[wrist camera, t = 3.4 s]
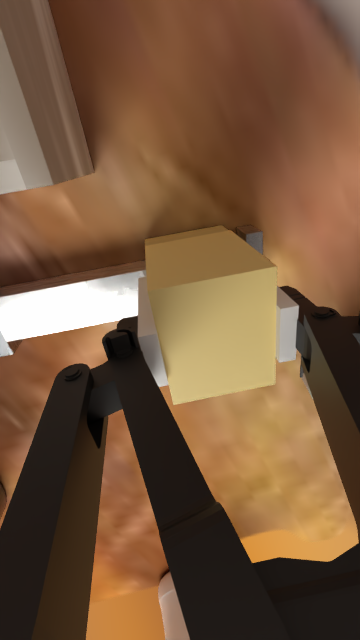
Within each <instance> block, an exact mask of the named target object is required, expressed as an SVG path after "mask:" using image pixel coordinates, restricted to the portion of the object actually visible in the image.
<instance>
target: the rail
mask: <svg viewBox="0 0 360 640" xmlns="http://www.w3.org/2000/svg"><path fill="white" fill-rule="evenodd" d="M236 231H237V236H239V237H240V238H241V239H243V240H244V241H245V242H246V243H248V244H249V245H250V246H252V247H253V248H254V249H255V250H257V251H258V252H259V253H261V254H262V255H263V232H262V231H261V230H259V229H258V228H256V227H254V226H252V225H247V226H242V227H237V228H236ZM146 276H147V275H146V260H142V261H137V262H132V263H126V264H121V265H116V266H110V267H105V268H100V269H94V270H89V271H84V272H78V273H73V274H68V275H62V276H57V277H52V278H46V279H41V280H36V281H30V282H25V283H20V284H14V285H9V286H4V287H0V357H2V356H7V355H12V354H14V353H15V351H16V350H17V348H18V346H19V345H20V343H21V342H22V340H23V339H24V338H29V337H34V336H39V335H45V334H50V333H55V332H60V331H65V330H70V329H75V328H81V327H86V326H91V325H96V324H101V323H106V322H112V321H117V320H121V319H122V318H127V317H132V316H137V315H138V278H141V277H146Z"/></svg>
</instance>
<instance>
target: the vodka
mask: <svg viewBox="0 0 360 640" xmlns="http://www.w3.org/2000/svg"><path fill="white" fill-rule="evenodd" d="M158 592H159V604H160V606H161V610H162V617H163V623H164V630H165V640H190V638H189V635H188V631H187V628H186V624H185V621H184V618H183V614H182V611H181V607H180V604H179V601H178V597H177V594H176V590H175V587H174V584H173V580H172V577H171V573H170V571H169V572H168V573H167V574H166V575H165V576H164V577H163V578H162V579H161V581H160V584H159V588H158Z"/></svg>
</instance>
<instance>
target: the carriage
mask: <svg viewBox="0 0 360 640" xmlns="http://www.w3.org/2000/svg"><path fill="white" fill-rule="evenodd" d="M145 258H146V275H147V291H148V296H149V300H150V305H151V309H152V313H153V318H154V322H155V326H156V330H157V334H158V339H159V343H160V347H161V352H162V356H163V361H164V365H165V369H166V374H167V378H168V383H169V388H170V392H171V396H172V401H173V405H176V404H181V403H186V402H190V401H195V400H200V399H205V398H210V397H215V396H220V395H225V394H230V393H235V392H239V391H244V390H249V389H254V388H259V387H264V386H269V385H274V384H275V370H276V357H275V356H276V305H277V266H276V265H275V264H273V263H272V262H271V261H270V260H268V259H267V258H266V257H264V256H263V255H262V254H261V253H259V252H258V251H257V250H255V249H254V248H253V247H252V246H250V245H249V244H248V243H246V242H245V241H244V240H243V239H241V238H240V237H239V236H237V235H236V234H235V233H234V232H232V231H231V230H228V229H226V228H225V227H224V226H223V225H219V226H214V227H209V228H203V229H198V230H192V231H187V232H182V233H176V234H171V235H165V236H160V237H155V238H149V239H145Z"/></svg>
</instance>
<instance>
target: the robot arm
mask: <svg viewBox="0 0 360 640" xmlns="http://www.w3.org/2000/svg"><path fill="white" fill-rule="evenodd" d="M102 343H103V346H104V349H105V352H106V355H107V358H108V361H107V362H105V363H104V364H102V365H100V366H98V367H95V368H93V369H90V368H89V367H88V366H87V365H86V364H82V363H81V364H74V365H70V366H68V367H66V368H64V369H63V370H62V371H61V372H59V373H58V375H57V376H56V378H55V380H54V383H53V386H52V389H51V391H50V394H49V397H48V400H47V402H46V405H45V408H44V411H43V413H42V416H41V419H40V422H39V424H38V427H37V430H36V433H35V435H34V438H33V441H32V444H31V446H30V449H29V452H28V455H27V457H26V460H25V463H24V466H23V468H22V471H21V474H20V477H19V479H18V482H17V485H16V488H15V490H14V493H13V496H12V499H11V501H10V504H9V507H8V510H7V512H6V515H5V518H4V521H3V523H2V526H1V529H0V640H86V631H87V621H88V611H89V601H90V592H91V582H92V572H93V562H94V553H95V543H96V533H97V523H98V513H99V504H100V494H101V484H102V474H103V465H104V455H105V445H106V435H107V425H108V415H110V414H112V413H114V412H116V411H119V410H121V409H123V411H124V415H125V418H126V421H127V425H128V428H129V431H130V435H131V438H132V441H133V445H134V448H135V452H136V455H137V458H138V462H139V465H140V468H141V472H142V475H143V478H144V482H145V485H146V488H147V492H148V495H149V499H150V502H151V505H152V509H153V512H154V515H155V519H156V522H157V526H158V529H159V535H160V539H161V543H162V546H163V550H164V553H165V556H166V560H167V563H168V567H169V570H170V573H171V577H172V580H173V584H174V587H175V590H176V594H177V597H178V601H179V604H180V607H181V611H182V614H183V618H184V621H185V624H186V628H187V631H188V635H189V638H190V640H360V313H359V316H348V317H343V316H340V315H339V313H338V312H337V311H336V310H334V309H331V308H328V307H317V306H315V305H314V304H313V303H312V302H311V301H309V300H308V299H307V298H305V296H303V295H302V294H301V293H300V292H299V291H297V290H296V289H294V288H292V287H289V286H283V287H278V286H277V305H276V356H275V357H276V359H277V360H278V362H279V363H280V362H285V361H290V360H295V359H296V349H297V350H298V351H299V352H300V353H301V366H300V377H303V373H304V374H305V377H306V380H307V383H308V386H309V388H310V391H311V394H312V397H313V400H314V403H315V406H316V409H317V411H318V414H319V417H320V420H321V423H322V426H323V429H324V432H325V434H326V437H327V440H328V443H329V446H330V449H331V452H332V455H333V457H334V460H335V463H336V466H337V469H338V472H339V475H340V478H341V480H342V483H343V486H344V489H345V492H346V495H347V498H348V501H349V503H350V506H351V509H352V512H353V515H354V518H355V521H356V524H357V529H358V539H359V543H358V544H357V545H356V546H354V547H352V548H351V549H349V550H348V551H346V552H345V553H343V554H342V555H340V556H339V557H337V558H336V559H334V560H332V561H330V562H322V561H311V560H301V559H291V558H280V557H279V558H274V559H270V560H265V561H261V562H256V563H252V562H251V560H250V558H249V557H248V555H247V553H246V551H245V549H244V547H243V545H242V543H241V541H240V539H239V537H238V535H237V533H236V531H235V529H234V527H233V525H232V523H231V521H230V519H229V517H228V516H227V514H226V512H225V510H224V508H223V507H222V506H221V504H220V503H219V502H216V500H215V499H214V497H213V495H212V494H211V492H210V490H209V488H208V485H207V483H206V481H205V479H204V477H203V475H202V473H201V471H200V469H199V467H198V465H197V463H196V461H195V459H194V457H193V455H192V453H191V451H190V449H189V447H188V445H187V443H186V441H185V439H184V437H183V435H182V433H181V431H180V429H179V427H178V425H177V423H176V421H175V419H174V417H173V415H172V413H171V411H170V409H169V407H168V405H167V403H166V401H165V399H164V397H163V395H162V393H161V391H160V389H159V387H161V386H166V385H168V378H167V374H166V369H165V365H164V361H163V356H162V352H161V347H160V343H159V339H158V334H157V330H156V326H155V322H154V318H153V313H152V309H151V305H150V300H149V296H148V291H147V276H146V277H141V278H138V315H137V316H132V317H127V318H122V319H121V320H120V321H119V323H118V324H117V329H115V330H112V331H110V332H109V333H107V334H106V335H105V336H104V337H103V338H102ZM5 506H6V495H5V492H4V489H3V487H2V486H1V484H0V519H1V517H2V514H3V512H4V509H5Z"/></svg>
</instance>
